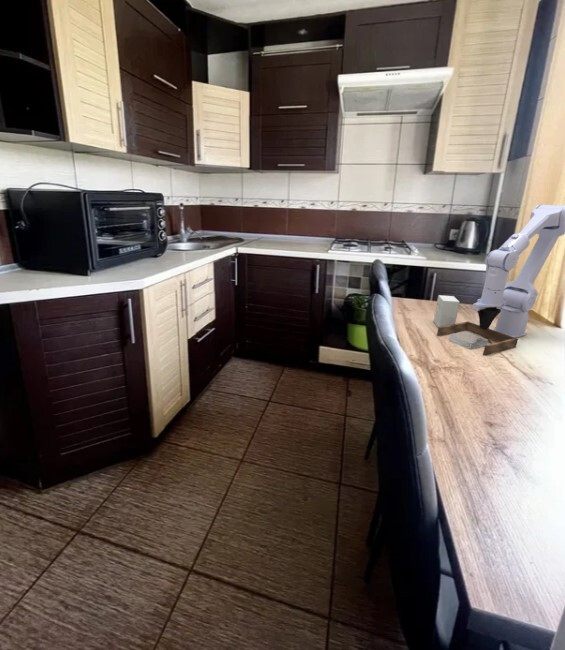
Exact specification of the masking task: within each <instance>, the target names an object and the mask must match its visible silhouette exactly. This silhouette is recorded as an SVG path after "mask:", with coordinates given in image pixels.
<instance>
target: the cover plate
mask: <svg viewBox="0 0 565 650" xmlns="http://www.w3.org/2000/svg"><path fill="white" fill-rule="evenodd" d="M448 342H452V344H455V345H459V346H460V347H463V348H465V349H467V350H471V351H472V350H475V349H480V348H485V346H486V345H489V344H488V343H489V339H488V338H486V337H483V336H481V335H478V334H475V333H473V332H470V331H461V332H456V333H452V334H449V338H448Z"/></svg>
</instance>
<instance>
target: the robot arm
mask: <svg viewBox="0 0 565 650" xmlns="http://www.w3.org/2000/svg"><path fill="white" fill-rule="evenodd" d="M536 235H538V238H537V239H536V242H535V243H534V245H533V247H532V249H531V251H530V253H529V255H527V256H528V257H527V258H526V260H525V262H524V263H523V266H522V268H521V269H520V270H519V271H520V272H519V273H518V275H517V276H516V278H515V279H514V280H511V281H509V282H507V281H508V278H509V274H510V273H509V272H510V271H511V270H513V269H514V268H515V265H516V264H517V261H518V260H519V258H520V255H521V254H522V253H523V252H524V251H525V250H526V249H527V248H528V247H529V246H530V240H531V239H532V238H533V237H534V236H536ZM564 235H565V205H563V204H559V205H558V204H542V203H538V204H537V205H536V206H534V208H533V209H532V211H531V212H530V216H529V220H528V222H526V224H525V225H524V227H523V228H522V229H521V231H520V232H516V233H513V234H512V235H510V237H508V239H507V240H506V241H505V242H504V243H503V244H502V245H501V246H499V248H498V249H494V250H492V251H490V252H489V253H488V255H487V257H486V258H485V266H486V267H485V273H486V275H485V280H484V284H483V289H482V293H481V297H480V298H478V299H477V300H476V302H475V303H473V304H472V308H471V310H473V311H476V312H477V315H478V321H479V325H480V328H481V329H484V330H488V328H489V329H491V330H494V331H497V332H500V333H503V334H506V335H509V336H512V337H515V338H520V337H523V336H527V335H528V333H527V332H526V328H527V326H528V323H529V318H530V315H529V311H531V310H532V309H533V308H534V306H535V304H536V301H537V297H538V295H539V292H538V290H537V288H536V287H535V286H534V283H535V281H536V279H537V277H538V276H539V274H540V272H541V270H542V268H543V266H544V265H545V263H546V261H547V259H548V257H549V256H550V254H551V252H552V250H553V248H554V247H555V244H556V243H557V241H558V239H559V237H561V236H564ZM497 316H498V318H497V321H496V326H495V328H490V326H491V325H492V323H493V321H494V320H495V319H496V317H497Z"/></svg>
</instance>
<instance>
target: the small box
mask: <svg viewBox="0 0 565 650" xmlns="http://www.w3.org/2000/svg"><path fill="white" fill-rule="evenodd" d="M460 303H461V302H460V301H459V300H458V299H457V298H456V297H455V296H454V295H441V294H439V295H438V296H437V300H436V306H435V313H434V317H433V322H434V323H435V325H436V327H437V328H438V327H442V326H447V325H452V324H457V322H456V321H457V317H458V313H459V306H460Z"/></svg>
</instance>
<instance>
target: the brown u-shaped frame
mask: <svg viewBox="0 0 565 650" xmlns="http://www.w3.org/2000/svg"><path fill="white" fill-rule="evenodd" d="M491 329H492V328H490V327H489V328H488V330H484V329H481V328H480V324H476V323H474V322H471V321H463V322H458V323H457V322H456V323H455V324H452V325H447V326H442V327H437V332H436V336H437V337H441V336H446V335H451V334H456V333H461V332H469V333H472V334H475V335H477V336H480V337H483V338H485V339H488V340H492V341H495V342H494V343H490V344H487V345H486V346H484V347H483V349H484V350H483V353H482V355H483V356H489V355H492V354H496V353H500V352H504V351H508V350H511V349H515V348H516V347H517V344H518V341H519V337H516V338H515V337H512V336H509V335H506V334H503V333H500V332H497V331H494V330H491Z"/></svg>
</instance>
